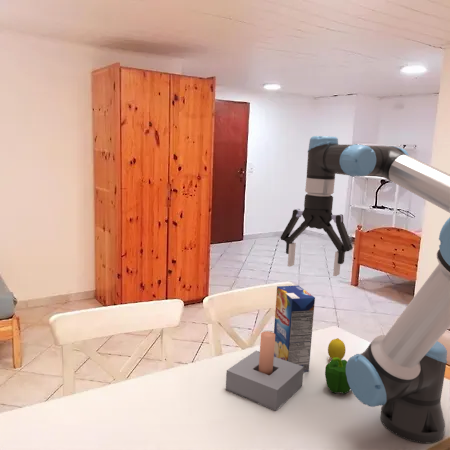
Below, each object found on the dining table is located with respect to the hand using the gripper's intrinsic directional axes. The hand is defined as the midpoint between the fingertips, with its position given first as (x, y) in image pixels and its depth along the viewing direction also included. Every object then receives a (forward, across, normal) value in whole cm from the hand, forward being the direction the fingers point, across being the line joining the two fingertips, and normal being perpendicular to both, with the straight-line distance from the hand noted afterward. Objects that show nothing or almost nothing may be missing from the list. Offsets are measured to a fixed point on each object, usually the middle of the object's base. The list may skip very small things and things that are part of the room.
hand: (312, 270), depth 125 cm
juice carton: (+35, +9, -9) cm, 37 cm away
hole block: (+35, +8, +9) cm, 37 cm away
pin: (+34, +8, +9) cm, 36 cm away
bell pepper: (+35, -9, -4) cm, 36 cm away
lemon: (+35, -2, -20) cm, 40 cm away
